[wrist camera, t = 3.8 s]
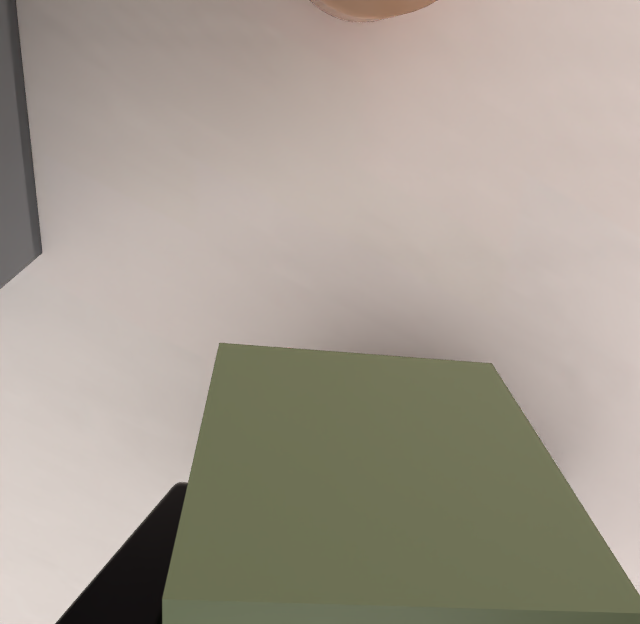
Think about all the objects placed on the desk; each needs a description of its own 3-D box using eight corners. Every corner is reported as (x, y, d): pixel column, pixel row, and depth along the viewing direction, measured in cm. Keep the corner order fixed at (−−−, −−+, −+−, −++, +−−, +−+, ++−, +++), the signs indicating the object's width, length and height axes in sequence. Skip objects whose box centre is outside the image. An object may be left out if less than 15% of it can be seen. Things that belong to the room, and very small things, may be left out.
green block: (435, 554, 10) (519, 843, 6) (210, 545, 10) (164, 849, 6) (491, 363, 8) (650, 612, 5) (219, 343, 8) (161, 598, 4)
